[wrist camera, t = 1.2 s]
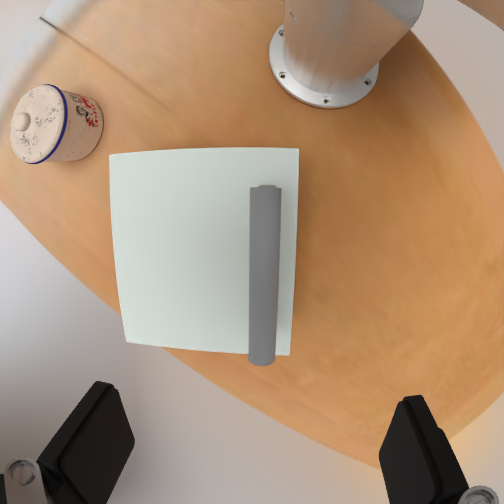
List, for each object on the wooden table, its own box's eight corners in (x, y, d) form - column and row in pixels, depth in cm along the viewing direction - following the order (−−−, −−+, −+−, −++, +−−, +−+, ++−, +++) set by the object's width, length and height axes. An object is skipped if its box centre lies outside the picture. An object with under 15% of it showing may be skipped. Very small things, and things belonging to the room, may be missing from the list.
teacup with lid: (118, 121, 34) (62, 107, 23) (78, 176, 36) (18, 182, 25) (70, 74, 32) (15, 54, 21) (35, 126, 34) (-23, 121, 23)
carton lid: (113, 154, 26) (69, 152, 19) (298, 149, 25) (306, 140, 18) (129, 338, 30) (98, 374, 24) (289, 351, 29) (291, 397, 22)
